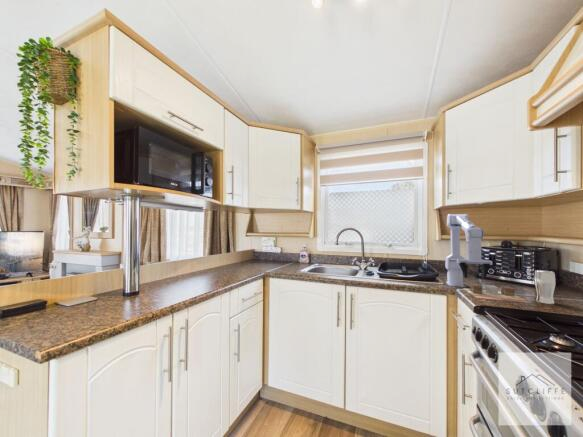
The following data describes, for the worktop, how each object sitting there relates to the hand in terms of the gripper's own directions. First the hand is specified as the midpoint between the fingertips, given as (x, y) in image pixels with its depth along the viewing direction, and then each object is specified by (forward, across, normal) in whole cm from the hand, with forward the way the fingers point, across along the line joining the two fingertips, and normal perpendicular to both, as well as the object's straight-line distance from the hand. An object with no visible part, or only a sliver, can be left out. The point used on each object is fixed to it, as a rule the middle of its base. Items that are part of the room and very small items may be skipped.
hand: (474, 278), depth 121 cm
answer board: (+10, +12, +10) cm, 19 cm away
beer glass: (+10, +30, +4) cm, 32 cm away
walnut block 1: (+10, +5, +12) cm, 16 cm away
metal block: (+10, +12, +12) cm, 20 cm away
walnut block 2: (+10, +19, +12) cm, 24 cm away
